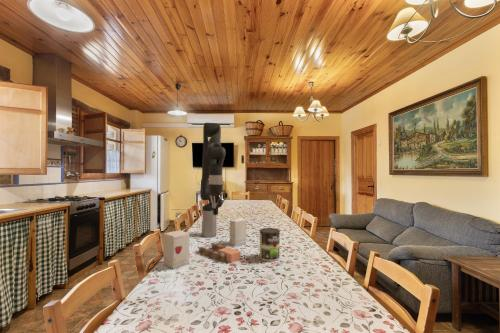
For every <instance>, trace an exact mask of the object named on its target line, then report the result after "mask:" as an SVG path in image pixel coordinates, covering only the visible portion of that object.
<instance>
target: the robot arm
mask: <svg viewBox="0 0 500 333" xmlns="http://www.w3.org/2000/svg"><path fill="white" fill-rule="evenodd" d="M202 131H203V132H202V133H203V134H202V135H203V136H202V138H203V140H202V141H203V142H202V144H203V145H202V161H201V162H202V163H201V164H202V165H201V182H200V192H199V193H200V194H199V197H200V199H201V200H202V201H208V203H206V204H204V205H203V206H202V220H201V236H202V237H204V238H213V237H216V236H217V216H218V215H219V208H221V207H222V206H223V203H224V202H225V198H223V195H222V192H223V190H224V189H223V186H224V185H223V184H224V183H223V182H224V178H223V165H224V160H225V157H226V154H227V151H226V149H225V147H223V146H222V143H221V139H222V138H221V137H222V136H221V134H222V132H221V131H222V128H221V125H220V124H219V123H216V122H205V123H204V124H203V129H202ZM217 160H218V162H217Z"/></svg>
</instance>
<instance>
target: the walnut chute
mask: <svg viewBox="0 0 500 333" xmlns="http://www.w3.org/2000/svg"><path fill="white" fill-rule="evenodd" d="M223 248H226V246H223V245H221V244H217V243H215V242H214V243H211V249H209V248H207V247H206V248H205V247H203V246H199V247H198V253H200V254H203V255H204V256H206V257H209V258H212V259H215V260H217V261H219V262H226V261H225V255H226V254H225V253H221V254H220V253H218V250H220V249H223ZM233 249H234V250H237V251H239V249H237V248H233ZM216 251H217V252H216Z"/></svg>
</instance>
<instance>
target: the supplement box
mask: <svg viewBox="0 0 500 333" xmlns="http://www.w3.org/2000/svg"><path fill="white" fill-rule="evenodd" d="M162 264H163V265H164V264H165V265H164V266H166V265H167V266H166V267H168V266H169V267H168V268H170V267H171V268H170V269H172V268H173V269H172V270H175V269H178V268H182V267H185V266H187V265H189V264H190V233H189V232H187V231H183V230H174V231H170V232H164V233H163V262H162ZM184 265H185V266H184ZM181 266H182V267H181ZM177 267H178V268H177ZM174 268H175V269H174Z"/></svg>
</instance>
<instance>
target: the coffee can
mask: <svg viewBox="0 0 500 333" xmlns="http://www.w3.org/2000/svg"><path fill="white" fill-rule="evenodd" d="M280 233H281V231H280V229H278V228H274V227H265V228H261V229H259V259H260V260H262V261H265V262H275V261H279V259H280Z"/></svg>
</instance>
